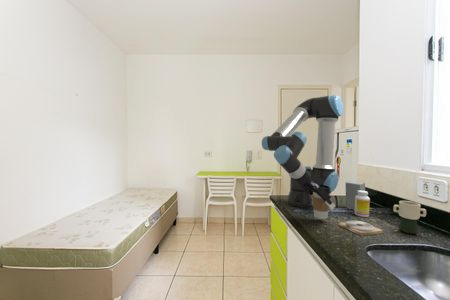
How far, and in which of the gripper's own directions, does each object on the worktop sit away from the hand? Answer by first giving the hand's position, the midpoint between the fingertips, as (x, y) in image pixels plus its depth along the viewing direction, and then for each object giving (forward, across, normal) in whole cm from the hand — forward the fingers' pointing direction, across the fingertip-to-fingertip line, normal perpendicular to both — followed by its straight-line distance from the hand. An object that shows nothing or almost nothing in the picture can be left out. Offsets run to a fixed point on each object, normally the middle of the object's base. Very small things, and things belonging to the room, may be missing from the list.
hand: (326, 204), depth 107 cm
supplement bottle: (+23, -2, +11) cm, 26 cm away
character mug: (+24, +20, +12) cm, 34 cm away
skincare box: (+27, -11, +15) cm, 33 cm away
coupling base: (+11, +12, 0) cm, 16 cm away
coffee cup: (+2, 0, -6) cm, 7 cm away
